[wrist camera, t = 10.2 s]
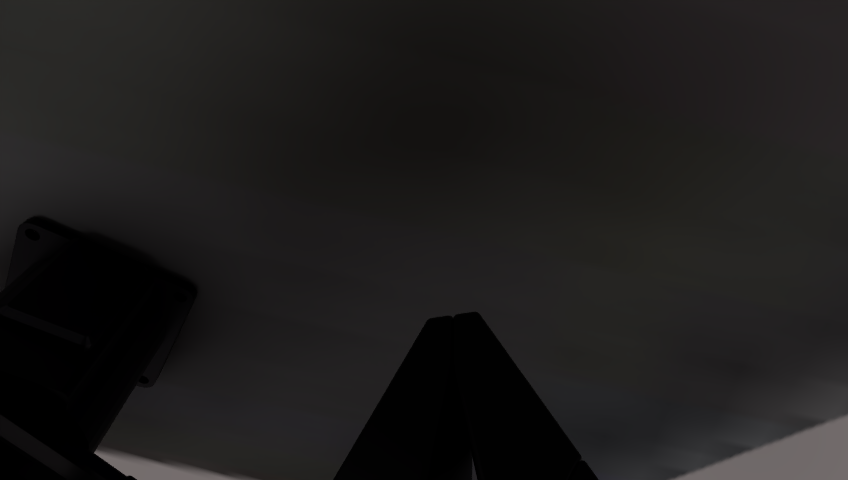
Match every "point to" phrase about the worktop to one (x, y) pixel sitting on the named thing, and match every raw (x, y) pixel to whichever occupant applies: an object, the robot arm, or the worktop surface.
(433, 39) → the worktop surface
